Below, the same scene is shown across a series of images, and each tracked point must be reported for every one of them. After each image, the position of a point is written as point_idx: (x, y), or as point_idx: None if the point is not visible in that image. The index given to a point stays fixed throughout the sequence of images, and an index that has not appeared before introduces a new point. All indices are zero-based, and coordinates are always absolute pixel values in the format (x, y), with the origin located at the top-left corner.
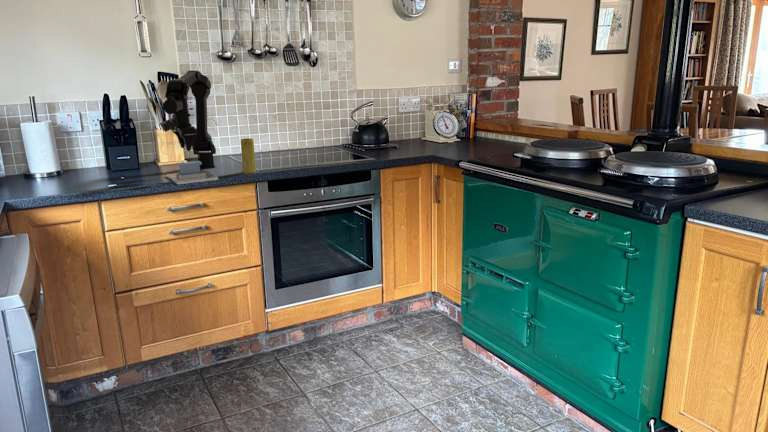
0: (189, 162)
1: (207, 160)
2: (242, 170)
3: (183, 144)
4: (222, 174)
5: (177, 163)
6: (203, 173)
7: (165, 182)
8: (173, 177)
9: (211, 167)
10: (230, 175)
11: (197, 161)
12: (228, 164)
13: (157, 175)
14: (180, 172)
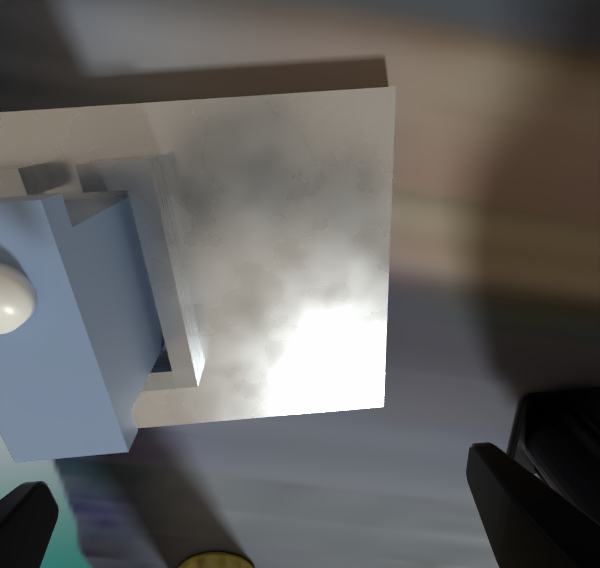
0: (42, 356)
1: (557, 481)
2: (218, 566)
3: (499, 541)
4: (228, 467)
5: (7, 208)
6: None
7: (64, 19)
8: (167, 128)
9: (512, 451)
10: (165, 496)
11: (87, 435)
12: None
13: (536, 5)
14: (95, 207)
